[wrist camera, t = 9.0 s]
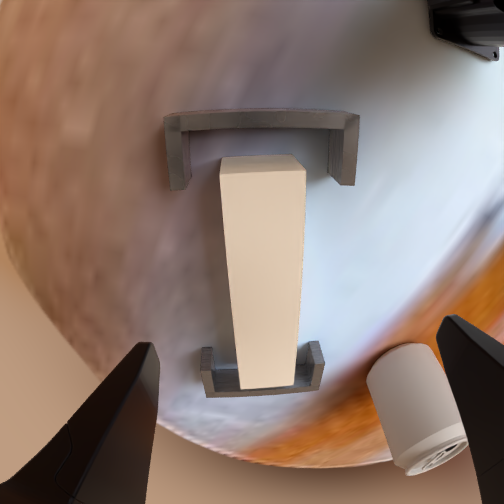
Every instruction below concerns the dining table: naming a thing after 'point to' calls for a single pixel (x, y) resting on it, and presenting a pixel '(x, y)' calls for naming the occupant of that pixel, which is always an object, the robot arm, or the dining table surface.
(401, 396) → the can
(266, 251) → the beige wooden bar
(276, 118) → the end caps
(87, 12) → the dining table surface
